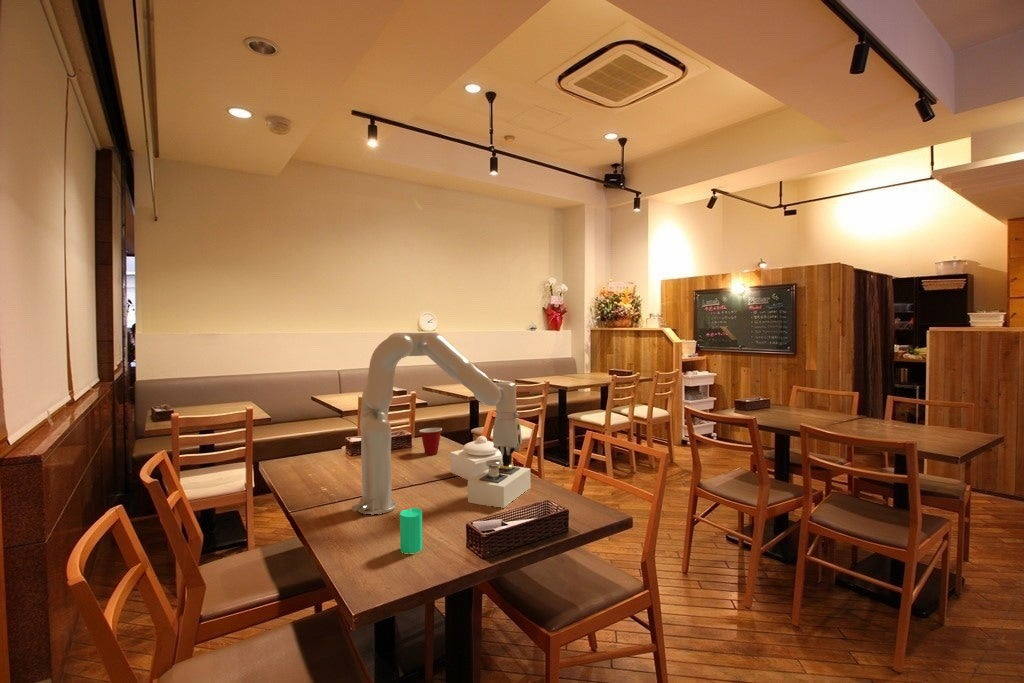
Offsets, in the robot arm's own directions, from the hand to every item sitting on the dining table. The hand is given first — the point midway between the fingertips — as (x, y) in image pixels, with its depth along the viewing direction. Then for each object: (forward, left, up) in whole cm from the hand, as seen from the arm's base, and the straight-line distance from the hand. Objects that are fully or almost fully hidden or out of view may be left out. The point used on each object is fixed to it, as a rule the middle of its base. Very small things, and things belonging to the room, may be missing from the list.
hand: (507, 464), depth 177 cm
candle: (-53, +3, -10) cm, 54 cm away
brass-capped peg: (0, 0, -8) cm, 8 cm away
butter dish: (+13, +19, -10) cm, 25 cm away
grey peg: (-10, 0, -4) cm, 11 cm away
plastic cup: (+29, +55, -10) cm, 63 cm away
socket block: (-5, 0, -10) cm, 11 cm away
